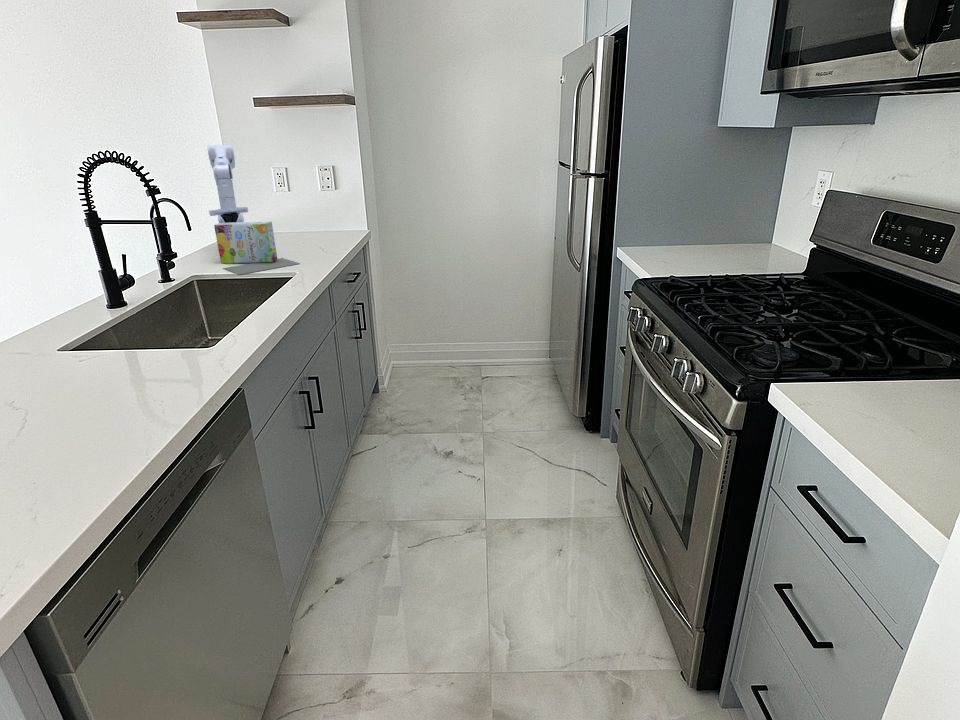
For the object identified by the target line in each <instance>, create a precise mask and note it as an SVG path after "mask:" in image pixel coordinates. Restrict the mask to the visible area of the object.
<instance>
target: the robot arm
mask: <svg viewBox="0 0 960 720" xmlns="http://www.w3.org/2000/svg"><path fill="white" fill-rule="evenodd" d="M207 155H208V159H209V163H210V166H211V168H212V171H213V177H214V180H215V185H216V186H217V187H216V188H217V194H218V202H219V207H220V209H212V210H208V213H209V216H211V217H215V216H217V221H218V223H234V222H245V219H244V213H249V208H248V206H242V207H238V206H237V203H236V196H235V191H234V190H235V189H234V185H233V184H234V183H233V179H234V177H233V171H232V170H233V169H234V168H235V166H236V161H235V160H236V159H235V152H234V147H233V145H232V144H222V145H221V144H217V145H211V144H208V145H207Z"/></svg>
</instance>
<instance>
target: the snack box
mask: <svg viewBox="0 0 960 720" xmlns="http://www.w3.org/2000/svg"><path fill="white" fill-rule="evenodd" d="M213 226H214V232H215V238H216V243H217V248H218V249H217V250H218V253H219V260H220V263H221V264H241V263H243V264H244V263H245V264H250V263H256V262H274V261H276V260H277V259H278V254H277V248H276V246H277V245H276V240H275V234H274V229H273V222H272V221H244V222H234V223H219V222H218V223H216V224H214V225H213Z"/></svg>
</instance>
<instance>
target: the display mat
mask: <svg viewBox="0 0 960 720" xmlns="http://www.w3.org/2000/svg"><path fill="white" fill-rule="evenodd" d="M300 264H301V263H300V262H297V261H294V260H291V259H287V258H283V257H280V258H277V260H276V261H274V262H256V263H245V264H244V263H243V264H240V265H239V264H238V265H233V266H227V267H222V270H224V269H225V270H224V271H227V270H228V271H227V272H230V271H231V272H230V273H233V272H234V273H233V274H235V273H237V274H236V275H238V274H239V276H242V275H247V274H252V273H258V272H265V271H270V270H273V269H274V270H275V269H280V268H287V267H291V266H296V265H300ZM286 266H287V267H286Z"/></svg>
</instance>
